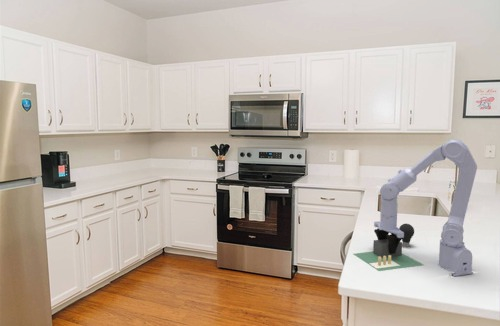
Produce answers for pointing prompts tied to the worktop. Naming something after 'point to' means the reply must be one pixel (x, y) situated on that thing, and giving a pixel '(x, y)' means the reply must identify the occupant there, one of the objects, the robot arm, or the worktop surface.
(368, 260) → the header board
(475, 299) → the worktop surface
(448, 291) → the worktop surface
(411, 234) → the light bulb
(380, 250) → the plug housing
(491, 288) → the worktop surface
